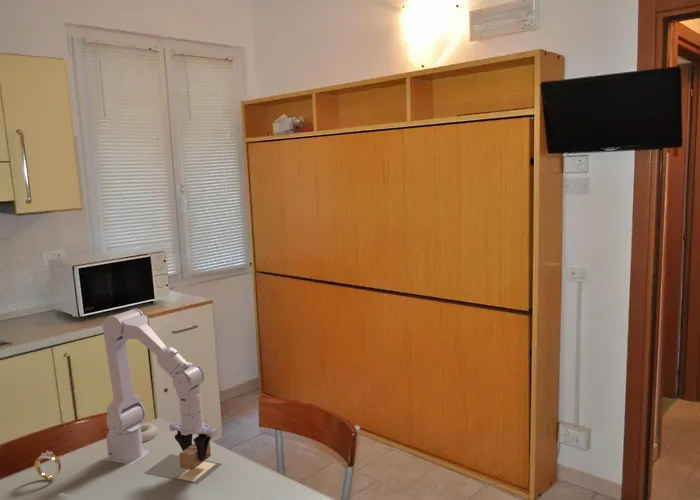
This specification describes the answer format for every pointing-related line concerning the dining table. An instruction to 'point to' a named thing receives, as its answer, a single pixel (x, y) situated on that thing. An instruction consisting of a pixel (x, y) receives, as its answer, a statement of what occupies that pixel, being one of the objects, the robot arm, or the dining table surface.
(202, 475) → the mat
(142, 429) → the donut
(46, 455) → the ring
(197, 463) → the brown rectangular block
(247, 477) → the dining table surface
